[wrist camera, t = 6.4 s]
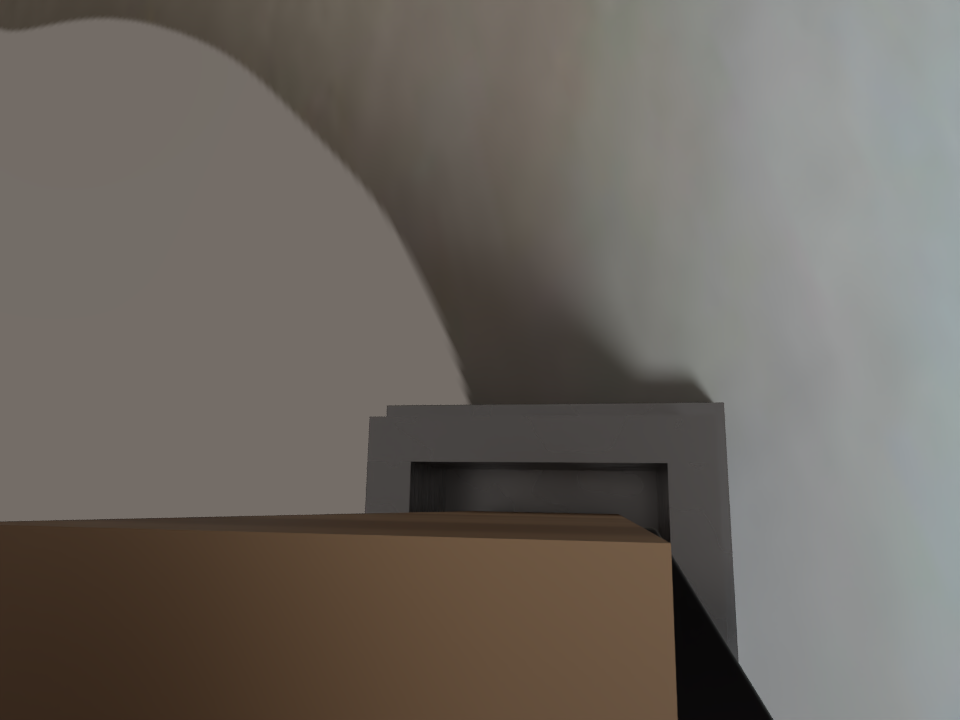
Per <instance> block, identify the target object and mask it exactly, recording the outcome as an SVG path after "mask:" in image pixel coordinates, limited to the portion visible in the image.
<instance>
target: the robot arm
mask: <svg viewBox="0 0 960 720" xmlns="http://www.w3.org/2000/svg"><path fill="white" fill-rule="evenodd" d="M642 528H644V529H646V530H648V531H650V532H651V533H653V534H655V535H657V536H659V537H660V538H662V537H661V536H660V534H659V533H658V531H657V530H656V529H654V528H652V527H642ZM671 558H672V584H673V611H674V637H675V664H676V690H677V717H678V720H773V718H772V717H771V715H770V713H769V712H768V710H767V708H766V707H765V705H764V704H763V702H762V700H761V699H760V697H759V695H758V694H757V692H756V691H755V689H754V687H753V686H752V684H751V682H750V681H749V679H748V678H747V676H746V674H745V673H744V671H743V669H742V668H741V666H740V664H739V663H738V661H737V660H736V658H735V656H734V655H733V653H732V651H731V650H730V648H729V647H728V645H727V643H726V642H725V640H724V638H723V637H722V635H721V634H720V632H719V630H718V629H717V627H716V625H715V624H714V622H713V620H712V619H711V617H710V616H709V614H708V612H707V611H706V609H705V607H704V606H703V604H702V603H701V601H700V599H699V598H698V596H697V594H696V593H695V591H694V590H693V588H692V586H691V585H690V583H689V581H688V580H687V578H686V576H685V575H684V573H683V572H682V570H681V568H680V567H679V565H678V563H677V562H676V560H675V559H674V557H673V555H672V554H671Z"/></svg>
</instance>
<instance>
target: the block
mask: <svg viewBox="0 0 960 720" xmlns="http://www.w3.org/2000/svg"><path fill="white" fill-rule="evenodd" d="M0 720H678V717H677V690H676V664H675V637H674V611H673V584H672V558H671V543H669V542H668V541H666V540H664V539H662V538H660V537H659V536H657V535H655V534H653V533H651V532H650V531H648V530H646V529H644V528H642V527H641V526H639V525H637V524H635V523H634V522H632V521H630V520H628V519H626V518H625V517H623V516H621V515H619V514H590V513H541V512H492V511H455V512H410V513H366V514H324V515H277V516H231V517H189V518H188V517H187V518H146V519H143V518H142V519H99V520H98V519H97V520H53V521H8V522H0Z"/></svg>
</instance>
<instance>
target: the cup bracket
mask: <svg viewBox="0 0 960 720" xmlns="http://www.w3.org/2000/svg"><path fill="white" fill-rule="evenodd" d="M366 485H367V486H366V506H365V514H366V513H410V512H455V511H492V512H541V513H590V514H619V515H621V516H623V517H625V518H626V519H628V520H630V521H632V522H634V523H635V524H637V525H639V526H641V527H652V528H654V529H656V530H657V531H658V533H659V534H660V536H661V537H662V539H664V540H666V541H668V542H669V543H671V554H672V555H673V557H674V559H675V560H676V562H677V563H678V565H679V567H680V568H681V570H682V572H683V573H684V575H685V576H686V578H687V580H688V581H689V583H690V585H691V586H692V588H693V590H694V591H695V593H696V594H697V596H698V598H699V599H700V601H701V603H702V604H703V606H704V607H705V609H706V611H707V612H708V614H709V616H710V617H711V619H712V620H713V622H714V624H715V625H716V627H717V629H718V630H719V632H720V634H721V635H722V637H723V638H724V640H725V642H726V643H727V645H728V647H729V648H730V650H731V651H732V653H733V655H734V656H735V658H736V660H737V661H738V646H737V628H736V610H735V593H734V575H733V557H732V539H731V521H730V504H729V486H728V468H727V450H726V433H725V415H724V403H618V404H510V405H407V406H387V417H370V423H369V443H368V464H367V484H366Z"/></svg>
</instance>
